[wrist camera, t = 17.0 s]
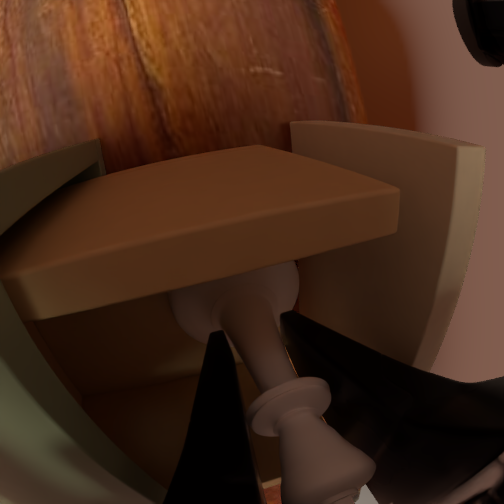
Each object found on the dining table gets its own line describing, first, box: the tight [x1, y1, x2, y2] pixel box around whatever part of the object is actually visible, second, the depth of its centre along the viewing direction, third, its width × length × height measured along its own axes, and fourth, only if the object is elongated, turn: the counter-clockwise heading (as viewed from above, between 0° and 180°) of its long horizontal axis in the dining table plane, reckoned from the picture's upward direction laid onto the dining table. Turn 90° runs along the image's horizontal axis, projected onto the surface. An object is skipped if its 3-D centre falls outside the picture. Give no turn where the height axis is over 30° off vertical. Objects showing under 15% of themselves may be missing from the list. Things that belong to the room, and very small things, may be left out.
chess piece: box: [168, 261, 393, 504], centre depth 7 cm, size 5×5×10 cm
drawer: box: [0, 120, 486, 490], centre depth 9 cm, size 18×11×7 cm, turn 96°
